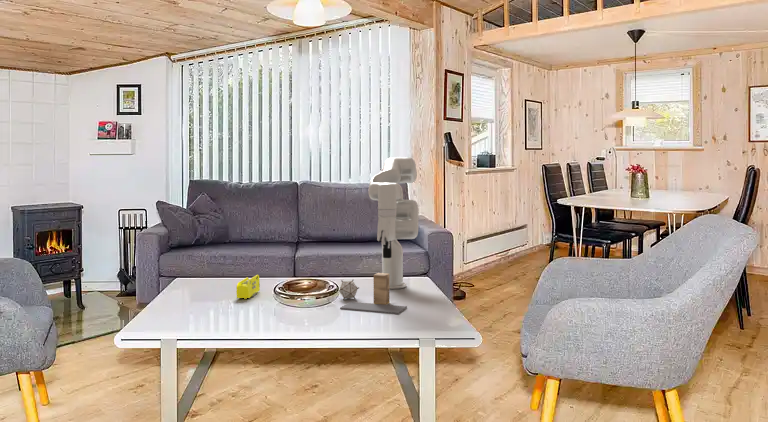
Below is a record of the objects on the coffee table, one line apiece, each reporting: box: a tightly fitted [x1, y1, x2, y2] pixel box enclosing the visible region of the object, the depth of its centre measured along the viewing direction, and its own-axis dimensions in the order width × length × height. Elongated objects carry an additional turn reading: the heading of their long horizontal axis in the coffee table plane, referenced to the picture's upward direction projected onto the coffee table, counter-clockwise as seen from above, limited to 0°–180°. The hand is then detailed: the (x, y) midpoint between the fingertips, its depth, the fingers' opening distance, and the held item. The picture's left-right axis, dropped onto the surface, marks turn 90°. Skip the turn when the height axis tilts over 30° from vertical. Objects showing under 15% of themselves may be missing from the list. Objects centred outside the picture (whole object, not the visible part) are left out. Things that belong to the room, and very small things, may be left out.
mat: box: [339, 301, 408, 315], centre depth 231 cm, size 10×24×1 cm, turn 70°
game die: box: [338, 279, 360, 301], centre depth 247 cm, size 9×8×10 cm
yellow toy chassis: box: [236, 274, 261, 300], centre depth 254 cm, size 16×6×8 cm, turn 175°
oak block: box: [373, 272, 390, 305], centre depth 238 cm, size 5×5×12 cm
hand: (387, 257), depth 243 cm, fingers closed
